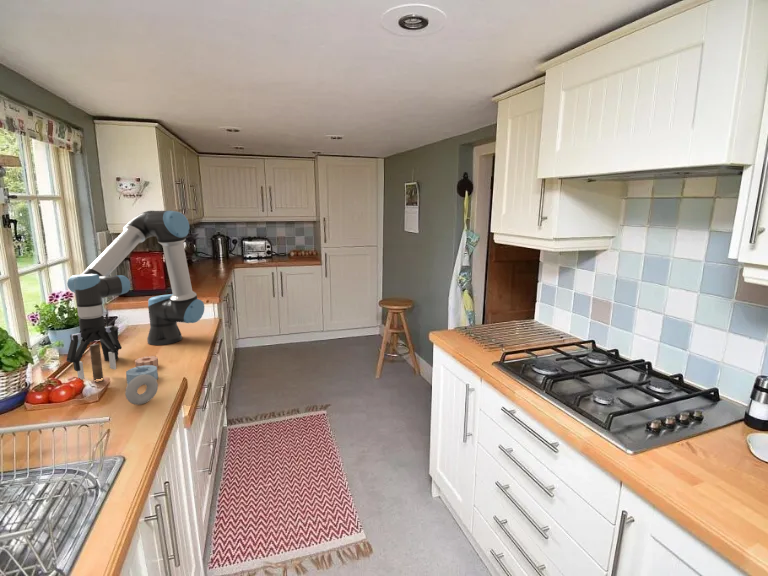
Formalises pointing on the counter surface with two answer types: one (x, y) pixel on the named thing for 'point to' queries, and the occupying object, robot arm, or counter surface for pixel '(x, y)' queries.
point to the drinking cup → (104, 348)
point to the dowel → (96, 361)
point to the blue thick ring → (141, 372)
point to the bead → (147, 361)
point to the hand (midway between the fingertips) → (97, 373)
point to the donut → (136, 383)
